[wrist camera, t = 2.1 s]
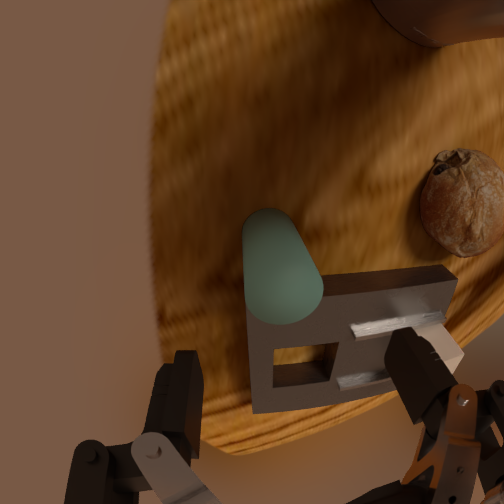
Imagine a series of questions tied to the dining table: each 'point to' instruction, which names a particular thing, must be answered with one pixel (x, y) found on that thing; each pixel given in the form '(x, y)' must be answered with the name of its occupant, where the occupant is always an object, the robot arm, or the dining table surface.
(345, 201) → the dining table surface
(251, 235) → the peg
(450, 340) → the block
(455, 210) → the bread roll
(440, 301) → the housing
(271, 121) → the dining table surface
